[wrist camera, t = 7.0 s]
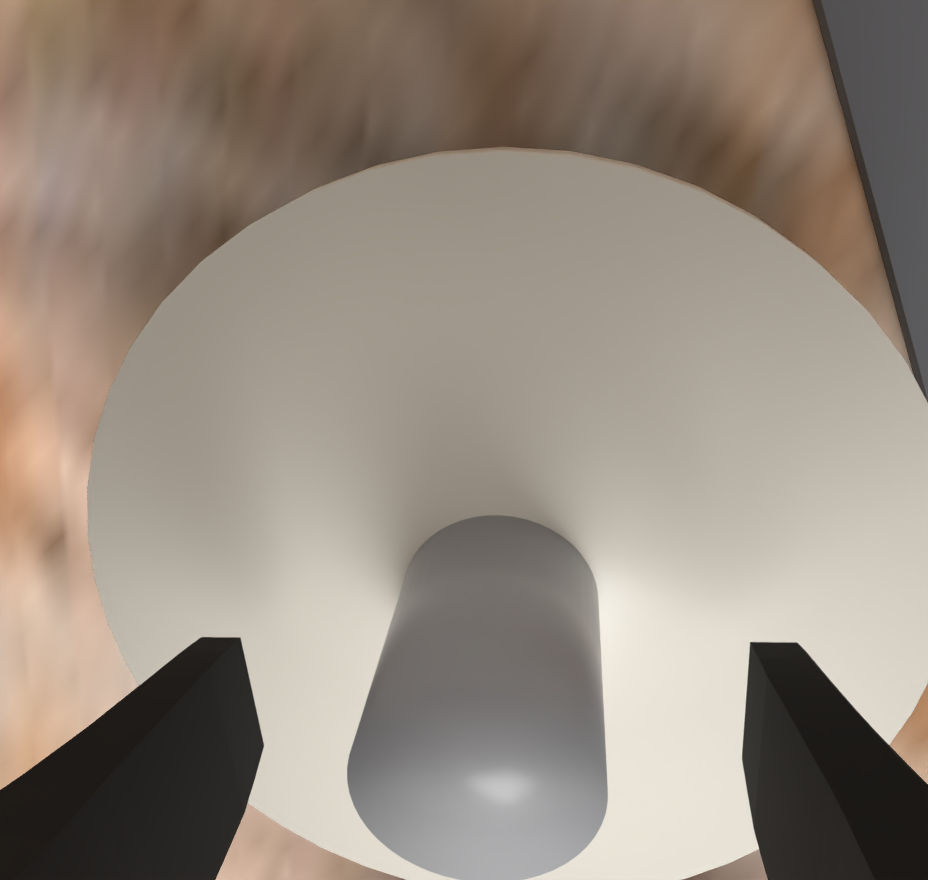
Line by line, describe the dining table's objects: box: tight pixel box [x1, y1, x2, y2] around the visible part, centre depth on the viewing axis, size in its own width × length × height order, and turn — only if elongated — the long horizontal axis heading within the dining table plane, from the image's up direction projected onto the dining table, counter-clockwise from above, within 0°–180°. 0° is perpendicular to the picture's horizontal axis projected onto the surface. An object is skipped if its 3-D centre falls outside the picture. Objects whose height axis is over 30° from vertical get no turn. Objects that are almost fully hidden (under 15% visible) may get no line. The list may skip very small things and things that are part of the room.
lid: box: [87, 147, 928, 880], centre depth 13 cm, size 14×14×5 cm
